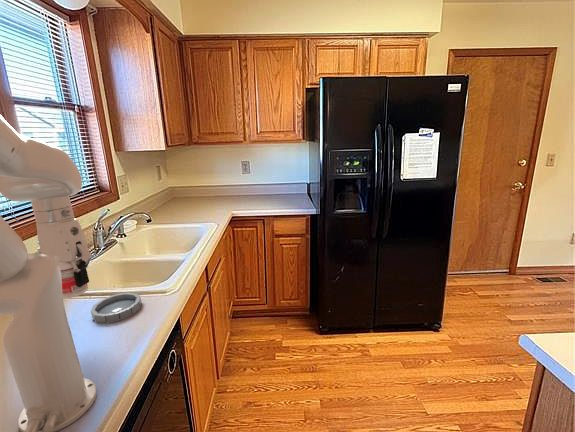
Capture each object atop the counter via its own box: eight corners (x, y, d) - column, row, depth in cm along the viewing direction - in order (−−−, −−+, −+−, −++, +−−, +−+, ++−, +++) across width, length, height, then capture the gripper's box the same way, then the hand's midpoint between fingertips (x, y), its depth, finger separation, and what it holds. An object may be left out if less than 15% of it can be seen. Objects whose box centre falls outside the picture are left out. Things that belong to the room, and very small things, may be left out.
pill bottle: (68, 289, 85) (58, 249, 82) (93, 286, 86) (83, 247, 83) (54, 300, 79) (43, 258, 76) (80, 297, 80) (70, 255, 77)
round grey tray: (138, 316, 93) (136, 309, 92) (87, 326, 89) (85, 320, 89) (143, 295, 105) (142, 289, 104) (99, 304, 101) (97, 297, 101)
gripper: (96, 211, 79) (111, 278, 83) (41, 212, 83) (58, 276, 87) (70, 219, 72) (87, 292, 76) (11, 220, 76) (31, 289, 80)
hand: (72, 283), depth 82 cm, fingers closed on pill bottle, 6 cm apart
